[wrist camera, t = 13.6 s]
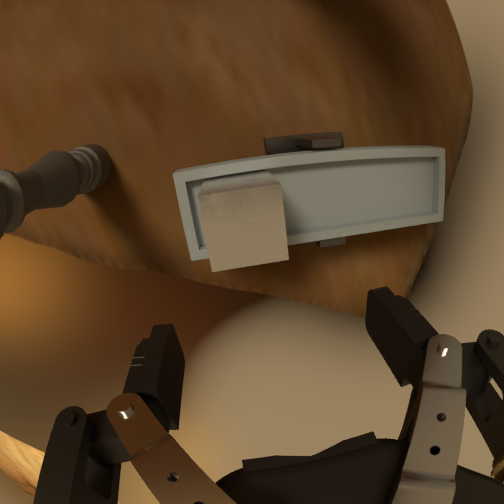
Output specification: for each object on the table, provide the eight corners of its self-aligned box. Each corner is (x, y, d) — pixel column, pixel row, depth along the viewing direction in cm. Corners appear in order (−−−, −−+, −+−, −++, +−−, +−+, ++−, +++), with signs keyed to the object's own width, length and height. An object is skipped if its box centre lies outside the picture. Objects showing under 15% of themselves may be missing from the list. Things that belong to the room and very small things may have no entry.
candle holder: (119, 169, 34) (-10, 235, 11) (89, 198, 35) (-35, 287, 12) (94, 134, 32) (-51, 160, 9) (64, 165, 33) (-74, 222, 10)
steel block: (204, 178, 28) (197, 196, 20) (266, 169, 28) (281, 183, 21) (215, 236, 30) (212, 271, 23) (273, 227, 30) (288, 259, 23)
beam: (177, 169, 28) (172, 173, 26) (431, 145, 29) (445, 148, 27) (193, 250, 32) (191, 260, 30) (430, 214, 33) (442, 220, 30)
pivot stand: (263, 138, 35) (276, 140, 26) (338, 131, 35) (370, 134, 27) (274, 227, 40) (288, 255, 31) (344, 217, 40) (373, 241, 31)
